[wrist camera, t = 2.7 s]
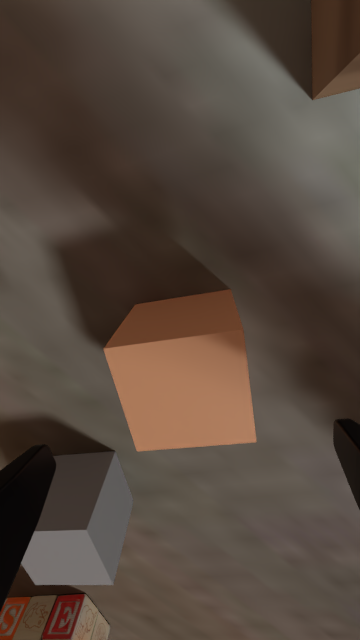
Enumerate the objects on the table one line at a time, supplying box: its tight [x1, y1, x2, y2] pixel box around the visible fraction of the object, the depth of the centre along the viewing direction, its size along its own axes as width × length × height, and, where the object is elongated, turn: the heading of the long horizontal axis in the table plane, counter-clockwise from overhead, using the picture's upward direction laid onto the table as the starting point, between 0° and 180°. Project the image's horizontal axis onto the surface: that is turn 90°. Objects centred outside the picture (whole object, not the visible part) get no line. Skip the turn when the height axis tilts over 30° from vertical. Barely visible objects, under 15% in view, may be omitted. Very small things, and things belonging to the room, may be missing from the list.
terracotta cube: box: [103, 289, 256, 451], centre depth 13 cm, size 5×5×5 cm
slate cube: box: [21, 451, 133, 585], centre depth 18 cm, size 5×5×5 cm
